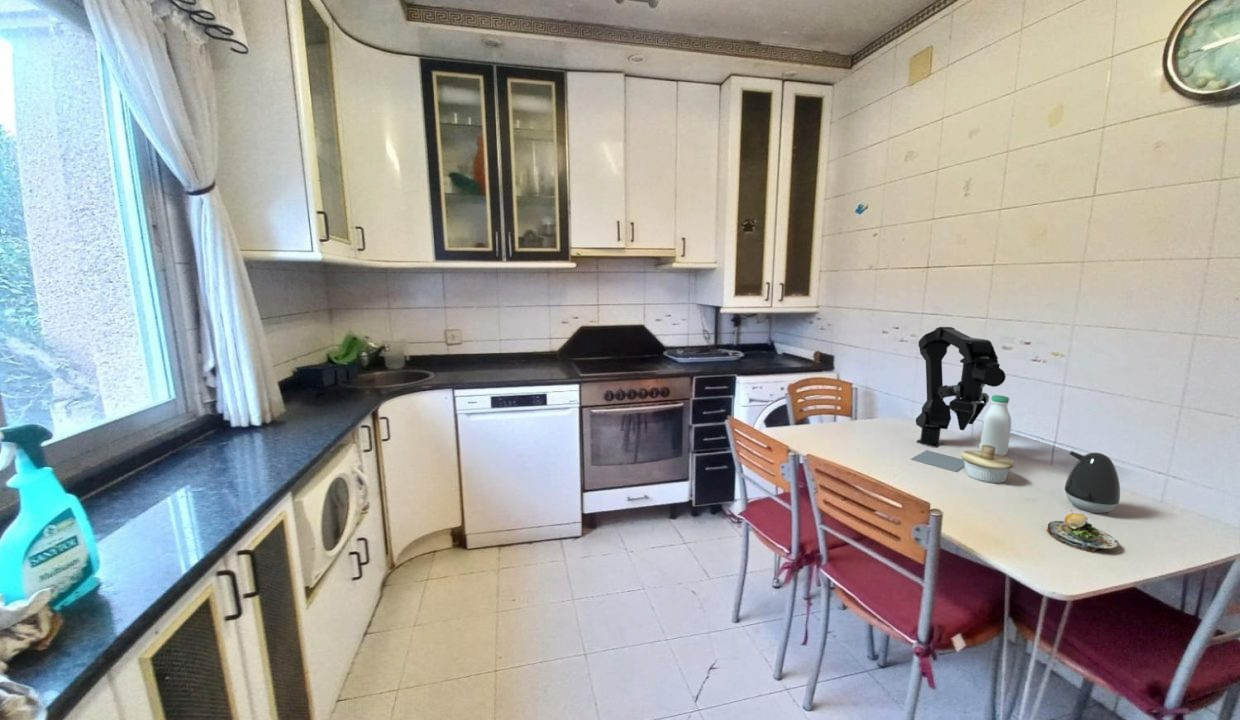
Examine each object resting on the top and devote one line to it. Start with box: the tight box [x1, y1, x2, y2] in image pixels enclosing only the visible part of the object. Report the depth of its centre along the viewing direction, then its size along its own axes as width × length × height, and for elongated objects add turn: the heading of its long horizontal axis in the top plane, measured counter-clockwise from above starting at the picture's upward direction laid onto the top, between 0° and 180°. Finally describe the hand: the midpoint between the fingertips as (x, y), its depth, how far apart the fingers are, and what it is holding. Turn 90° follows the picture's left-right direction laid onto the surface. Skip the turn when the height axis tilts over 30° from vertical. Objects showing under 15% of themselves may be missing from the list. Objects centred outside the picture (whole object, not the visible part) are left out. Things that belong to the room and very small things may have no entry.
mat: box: [910, 449, 965, 473], centre depth 155 cm, size 13×13×1 cm
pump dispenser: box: [1064, 450, 1121, 514], centre depth 122 cm, size 10×10×15 cm
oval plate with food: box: [1046, 507, 1120, 553], centre depth 108 cm, size 12×12×8 cm
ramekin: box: [963, 459, 1011, 484], centre depth 142 cm, size 11×11×5 cm
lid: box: [960, 445, 1015, 469], centre depth 141 cm, size 12×12×4 cm
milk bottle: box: [978, 394, 1012, 457], centre depth 161 cm, size 8×8×20 cm
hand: (966, 426), depth 150 cm, fingers open, 9 cm apart
